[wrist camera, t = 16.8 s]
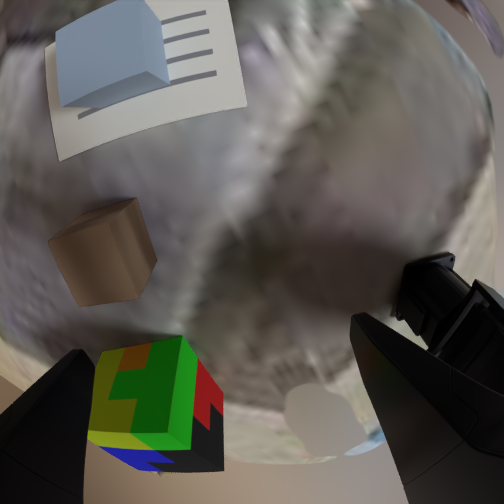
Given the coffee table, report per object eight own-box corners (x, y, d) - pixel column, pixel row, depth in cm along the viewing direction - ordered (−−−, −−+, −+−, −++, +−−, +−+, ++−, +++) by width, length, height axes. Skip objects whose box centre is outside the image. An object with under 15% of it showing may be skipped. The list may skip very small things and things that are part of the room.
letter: (224, -18, 11) (223, -19, 10) (247, 106, 15) (247, 106, 15) (46, 48, 11) (44, 48, 11) (60, 161, 15) (59, 161, 15)
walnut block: (137, 197, 17) (108, 222, 13) (157, 259, 20) (139, 299, 15) (82, 213, 17) (47, 241, 13) (104, 270, 20) (79, 307, 15)
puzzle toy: (150, 402, 28) (138, 470, 19) (102, 351, 24) (73, 428, 15) (223, 392, 28) (224, 471, 19) (182, 334, 23) (167, 432, 14)
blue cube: (160, 21, 12) (137, -8, 7) (170, 84, 14) (146, 70, 9) (93, 47, 12) (55, 32, 7) (101, 108, 14) (61, 107, 9)
